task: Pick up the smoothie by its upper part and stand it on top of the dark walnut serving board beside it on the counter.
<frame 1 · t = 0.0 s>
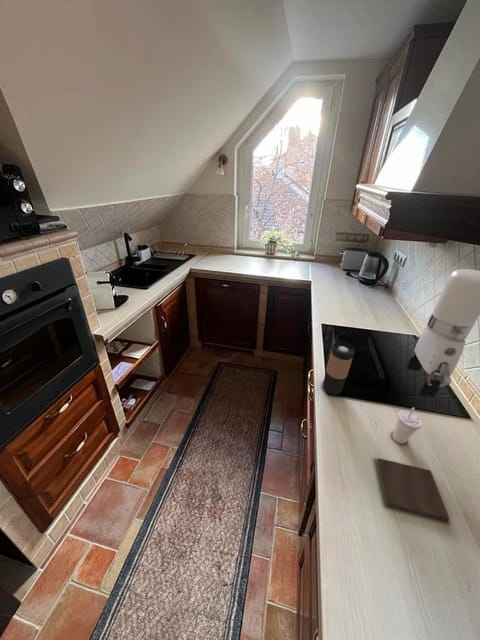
hand: (418, 381, 65), 28 cm above the worktop, tool pointing down, fingers open, 9 cm apart
travel mug: (331, 388, 100), on the worktop
walnut board: (408, 488, 69), on the worktop
smoothie: (399, 438, 82), on the worktop
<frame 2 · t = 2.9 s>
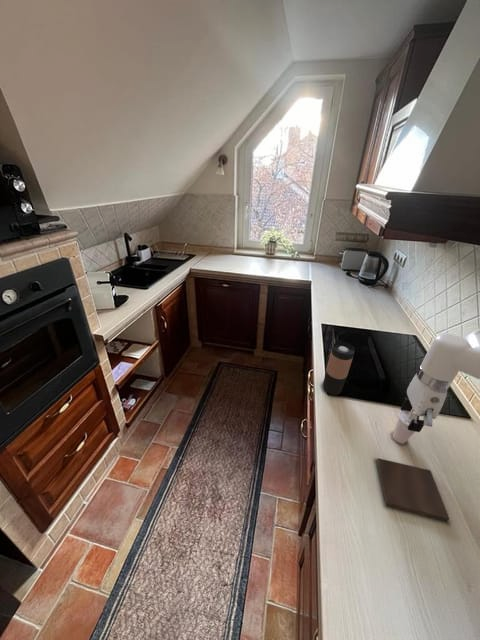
hand: (409, 420, 77), 9 cm above the worktop, tool pointing down, fingers closed on smoothie, 6 cm apart
smoothie: (399, 438, 82), on the worktop, touching gripper
everything else where it was.
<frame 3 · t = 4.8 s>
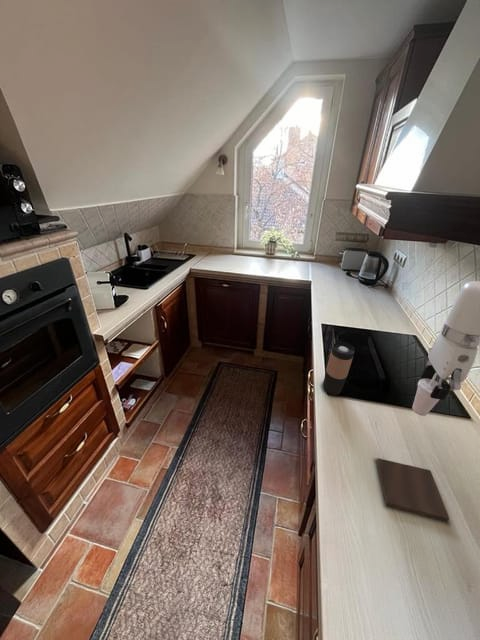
hand: (431, 388, 69), 24 cm above the worktop, tool pointing down, fingers closed on smoothie, 6 cm apart
smoothie: (419, 411, 74), point 14 cm above the worktop, touching gripper
everything else where it was.
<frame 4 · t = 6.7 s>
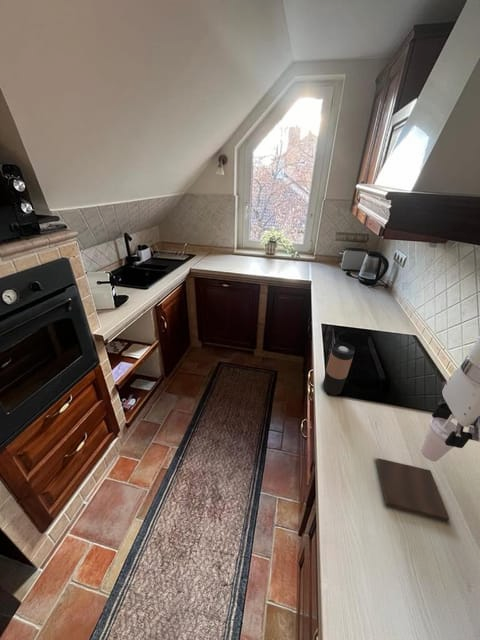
hand: (446, 430, 57), 24 cm above the worktop, tool pointing down, fingers closed on smoothie, 6 cm apart
smoothie: (429, 454, 62), point 15 cm above the worktop, touching gripper
everything else where it was.
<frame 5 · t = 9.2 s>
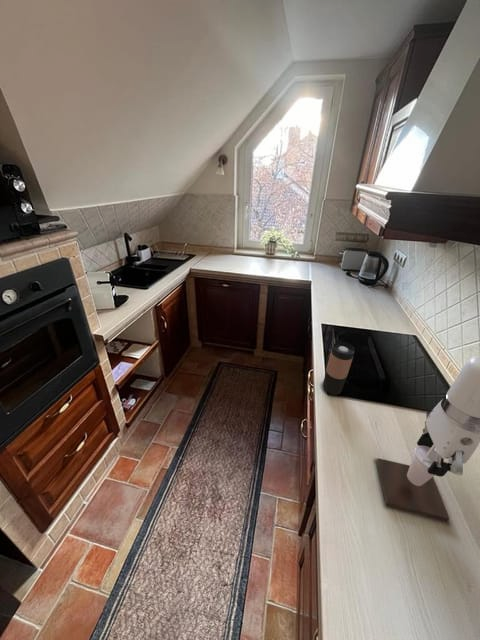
hand: (429, 458, 62), 14 cm above the worktop, tool pointing down, fingers closed on smoothie, 6 cm apart
smoothie: (414, 479, 67), point 5 cm above the worktop, touching gripper
everything else where it was.
when the fingers open (11 cm above the worktop, at t = 10.8 s): smoothie stays where it is, resting on walnut board.
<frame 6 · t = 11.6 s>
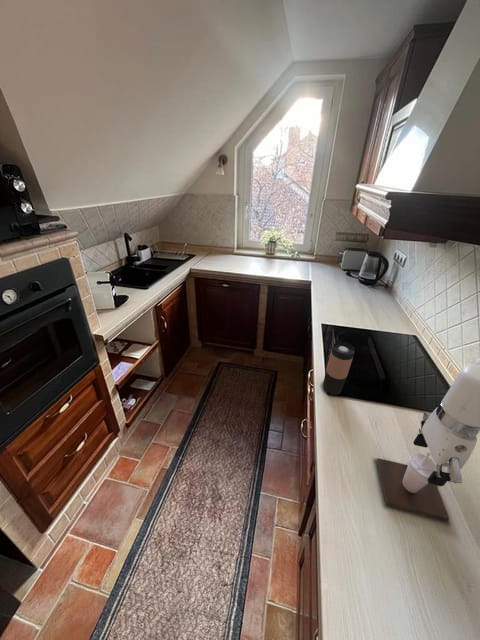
hand: (426, 463, 63), 12 cm above the worktop, tool pointing down, fingers open, 9 cm apart
walnut board: (408, 488, 69), on the worktop, touching smoothie
smoothie: (409, 485, 68), point 1 cm above the worktop, touching walnut board
everything else where it was.
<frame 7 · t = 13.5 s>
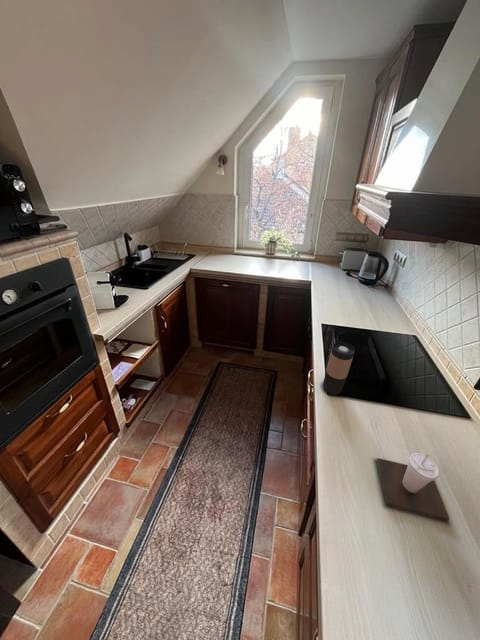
nothing on the worktop moved.
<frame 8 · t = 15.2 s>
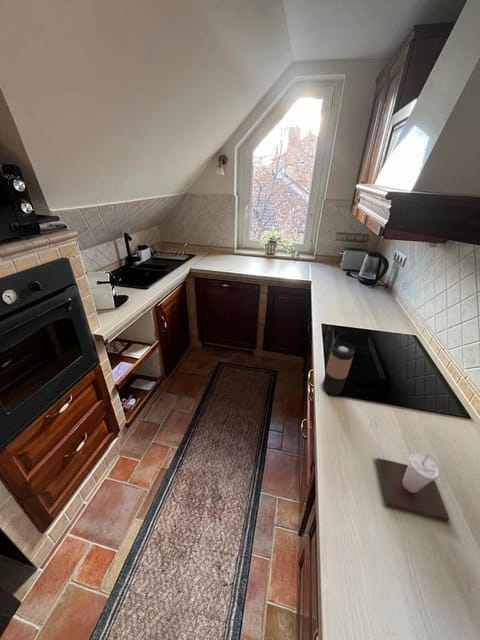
nothing on the worktop moved.
at the end: smoothie 0.0 cm from the walnut board (horizontally); smoothie point 1.3 cm above the worktop; smoothie tilted 0° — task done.
